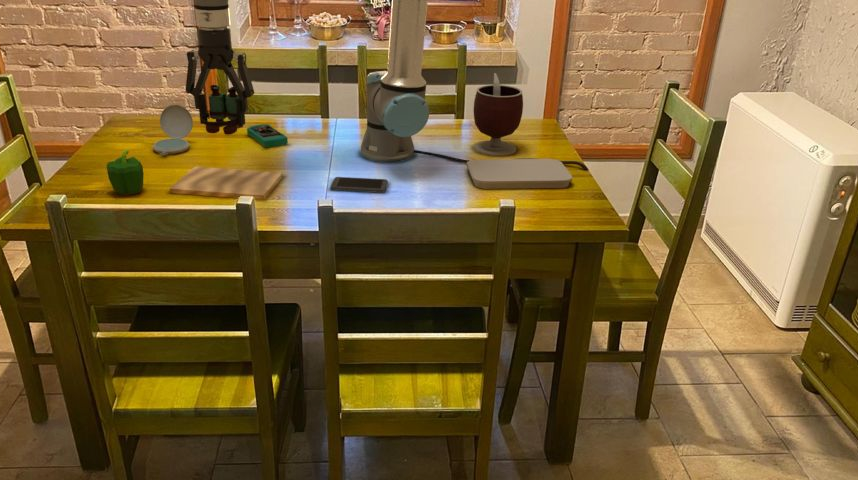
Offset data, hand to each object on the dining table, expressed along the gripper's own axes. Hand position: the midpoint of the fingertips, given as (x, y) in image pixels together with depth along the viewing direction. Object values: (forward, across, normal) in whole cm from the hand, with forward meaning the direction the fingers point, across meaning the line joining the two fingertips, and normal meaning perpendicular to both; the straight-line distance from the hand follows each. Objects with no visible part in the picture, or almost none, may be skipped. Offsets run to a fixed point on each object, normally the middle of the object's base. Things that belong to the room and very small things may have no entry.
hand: (223, 123), depth 179 cm
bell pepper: (+16, -22, -10) cm, 29 cm away
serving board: (+16, 0, 0) cm, 16 cm away
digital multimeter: (+16, -1, +36) cm, 39 cm away
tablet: (+15, +73, +19) cm, 77 cm away
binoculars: (+2, 0, 0) cm, 2 cm away
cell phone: (+15, +33, +5) cm, 37 cm away
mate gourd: (+15, +66, +42) cm, 79 cm away
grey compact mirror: (+16, -25, +22) cm, 37 cm away
